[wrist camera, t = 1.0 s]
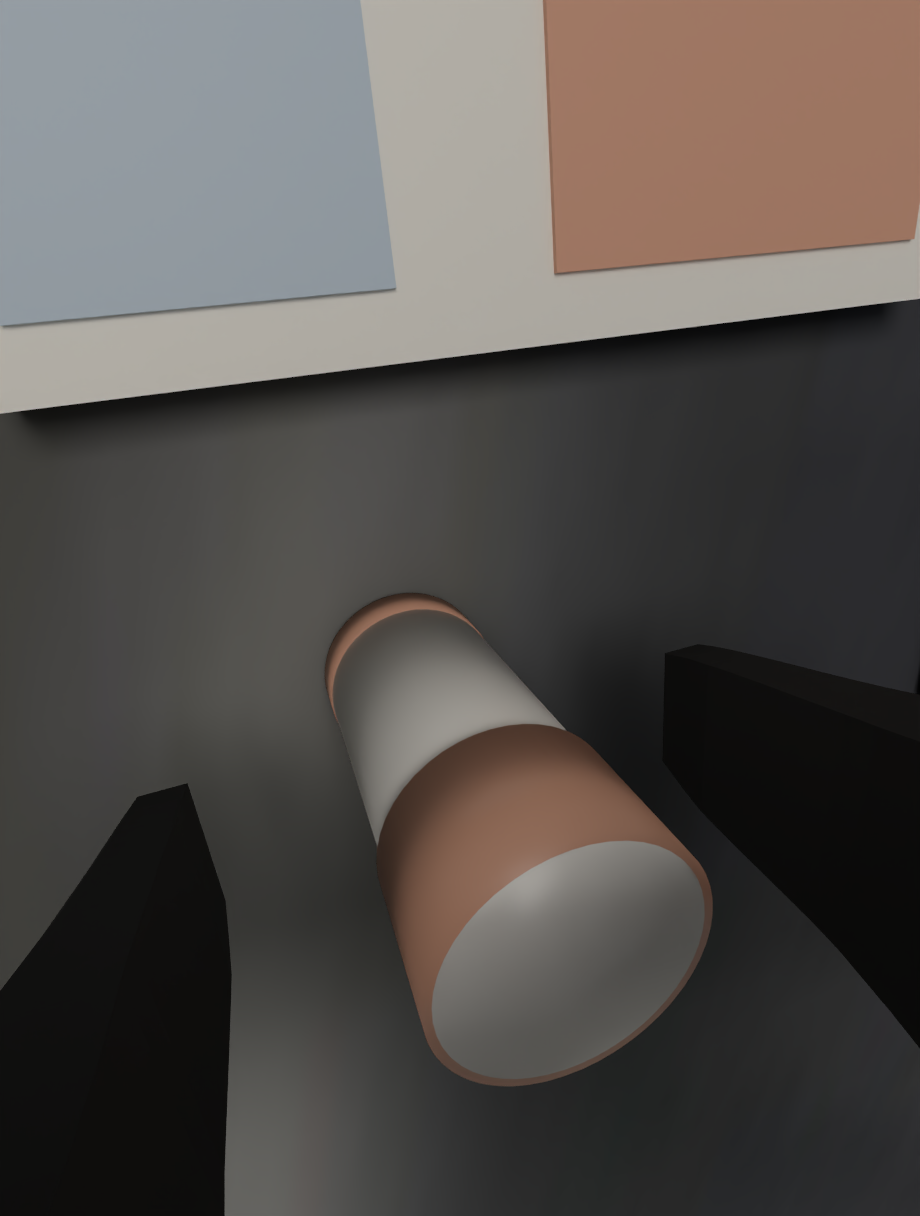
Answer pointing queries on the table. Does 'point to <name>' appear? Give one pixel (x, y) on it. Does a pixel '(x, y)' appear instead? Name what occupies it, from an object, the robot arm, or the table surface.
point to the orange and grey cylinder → (507, 853)
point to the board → (435, 179)
